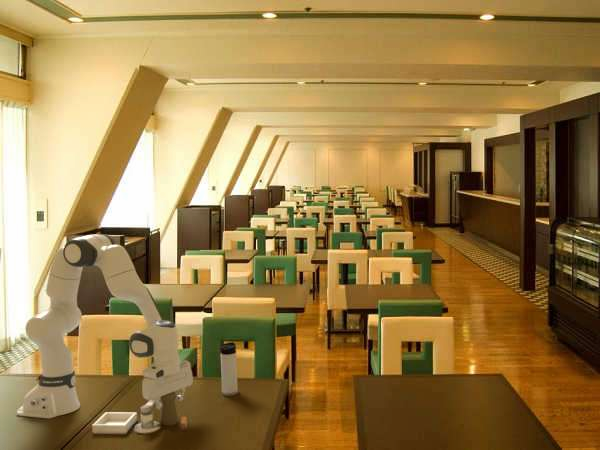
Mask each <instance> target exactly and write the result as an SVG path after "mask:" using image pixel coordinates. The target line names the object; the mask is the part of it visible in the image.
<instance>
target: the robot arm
mask: <svg viewBox="0 0 600 450" xmlns="http://www.w3.org/2000/svg"><path fill="white" fill-rule="evenodd" d="M93 266H97V267H98V268H100V270H101V272H102V275H103V278H104V280H105V284H106V286H107V288H108V290H109V292H110V295H112V296H113V297H115V298H117V299H119V300H123V301H127V302H131V303H134V304H135V306H137V307H138V309H139V310H140V312H141V315H142V316H143V318H144V320H145V322H146V325H147V327H145V328H143V329H140V330H138V331H135V332H134V333H132V334H131V336H130V337H129V340H128V347H129V350H130V352H131V354H133V355H134V356H135V357H137V358H148V357H153V362H152V363H151V364H150V365H149V366H147V367H146V368H145V369H144V370H142V376H143V377H144V378H143V379H142V385H141V386H142V387H141V394H142V397H143V399H145V400H147V401H149V400H153V401H154V403H155V404H156V406H155V410H162V404H163V402H162V403H161V402H160V401H158V400H159V397H160V398H161V396H164V395H166V394H169V393H172V392H177V391H178V394H177V395H176V400H177V401H178V402H181V401H183V400H184V394H185V392H186V388H188V387H189V386H192V385H193V383H194V377H193V371H192V369H191V368H192V367H191V366H192V365H191V362H190V361H188V360H183V361H181V359H180V354H179V346H180V345H179V334H178V329H177V326H176V324H175V323H174V322H172V321H171V320H166V319H165V318H164V317H163V315H162V313H161V311H160V309H159V307H158V306H157V302H155V299H154V297H153V295H152V294H151V292H150V290H149V288H148V287H147V286H146V285H145V284H144V283H143V282H142V280H141V279H140V277H139V275H138V273H137V271H136V268H135V265H134V263H133V261H132V259H131V257H130V255H129V253H128V252H127V250H126V248H125V247H124V246H122V245H120V244H116V241H115V239H114V238H113V237H112V236H110V235H108V234H106V233H105V234H104V233H98V234H96V233H95V234H94V233H93V234H86V235H84V236H83V235H82V236H79V237H77V236H76V237H74V238H72V239H69V240H68V241H67V242H66V243H65V245H62V246H60V247H59V248H58V249H57V251H56V253H55V255H54V257H53V259H52V263H51V266H50V270H49V274H48V279H47V283H46V288H45V292H46V295H47V296H48V297H49V299H50V305H49V307H48V309H47V310H44V311H41V312H38V313H36V314H35V315H34V316H32V317H31V318H30V319H28V320H27V322H26V324H25V334H26V336H27V337H28V339H29V340H30V341H31V342H33V343H34V344H35V345H36V347H37V349H38V351H39V352H38V353H39V355H40V361H41V362H40V363H41V371H42V373H41V374H39V375H38V377H36V378H35V381H36V382H38V384H37V385H35V386H34V387H33V388H32V389H31V390H30V391H28V392H27V393H26V394H25V395H24V397H23V404H22V405H21V406H20V407H19V408H18V409H17V410H16V416H20V417H21V416H22V417H29V418H30V417H31V418H41V419H53V418H56V417H59V416H62V415H66V414H70V413H73V412H75V411H77V410H79V409H80V408H81V404H80V401H79V398H78V394H77V391H76V390H77V389H76V372H75V369H74V359H73V351H72V349H71V348H70V347H68V346H67V345H66V343H65V340H64V335H66V334H68V333H71V332H72V331H74V330H75V329H76V328H78V326H79V325H80V324H81V322H82V319H83V315H82V312H81V309H80V308H79V307H78V292H79V287H80V282H81V277H82V273H83V268H90V267H93Z"/></svg>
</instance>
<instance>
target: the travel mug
mask: <svg viewBox="0 0 600 450" xmlns="http://www.w3.org/2000/svg"><path fill="white" fill-rule="evenodd" d="M219 348H220V355H219V356H220V374H221V376H220V377H221V394H222V395H223V396H225V397H230V396H235V395H238V393H239V389H238V388H239V387H238V386H239V385H238V365H237V363H238V362H237V345H236V343H235V342H234V341H233V342H232V341H229V342H225V343H222V344H221V345H220V346H219Z"/></svg>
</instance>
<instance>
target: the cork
mask: <svg viewBox="0 0 600 450" xmlns="http://www.w3.org/2000/svg"><path fill="white" fill-rule="evenodd" d="M175 392H176V391H174V392H172V393H169V394H166V395H164V396H161V397H160V401H161V402H162V408H161V418H160V424H161V425H163V426H172V425H176V424H177V423H178V422H179V418H178V414H177V407H176V404H175V403H176V402H175V400H176V399H177V395H176V393H175ZM176 422H177V423H176ZM171 424H172V425H171Z"/></svg>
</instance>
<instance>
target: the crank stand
mask: <svg viewBox="0 0 600 450" xmlns="http://www.w3.org/2000/svg"><path fill="white" fill-rule="evenodd" d="M139 415H140V422H139V423H137V424H135V426H134V428H133V431H134V432H135V433H137V434H141V435H146V434H148V435H149V434H153V433H156V432H157V431H159V430H161V427H162V424H161V422H159V421H156V420H154V419H155V418H154V411H153V412H152V413H151V414H148V415H142V414H141V413H140V414H139ZM187 423H188V421H187V416H181V417H180V429H181V431H182V430H183V431H185V430H187V429H188V424H187Z"/></svg>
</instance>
